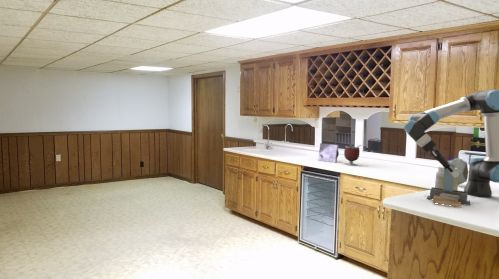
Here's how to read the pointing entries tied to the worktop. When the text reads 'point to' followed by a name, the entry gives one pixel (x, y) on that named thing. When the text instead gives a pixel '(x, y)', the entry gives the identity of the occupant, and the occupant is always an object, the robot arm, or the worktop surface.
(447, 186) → the slate board
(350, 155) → the mate gourd
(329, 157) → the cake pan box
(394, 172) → the worktop surface
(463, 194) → the slot rack
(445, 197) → the offcut stack
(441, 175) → the supplement tub
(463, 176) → the rock
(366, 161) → the worktop surface
